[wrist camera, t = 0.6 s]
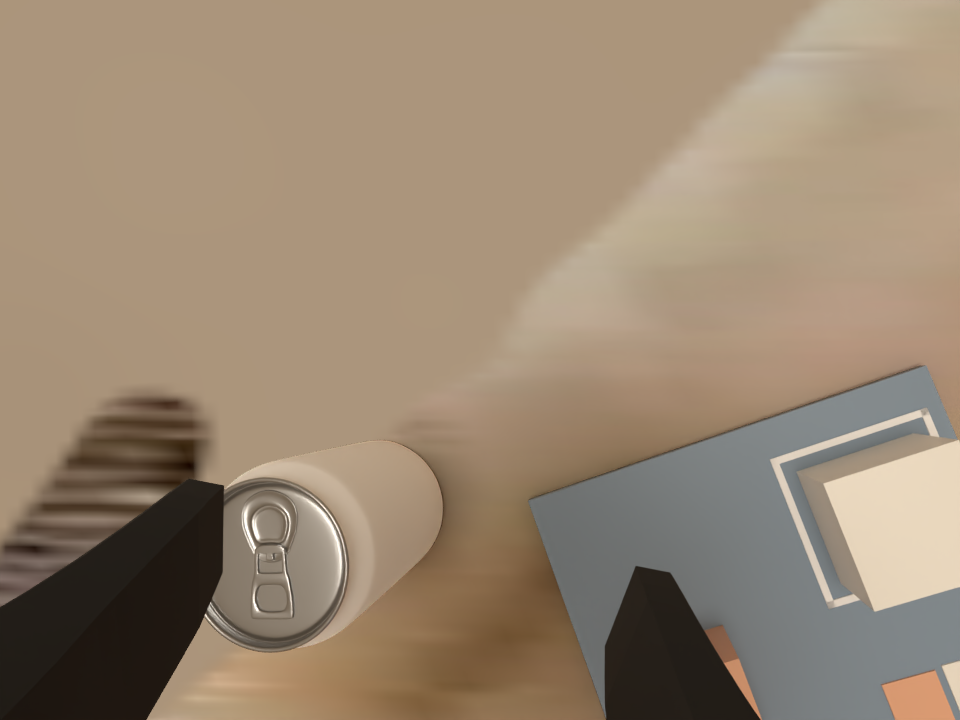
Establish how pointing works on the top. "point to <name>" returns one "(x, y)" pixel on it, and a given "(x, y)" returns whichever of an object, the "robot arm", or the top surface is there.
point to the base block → (891, 518)
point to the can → (320, 541)
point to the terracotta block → (731, 661)
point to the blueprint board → (764, 560)
